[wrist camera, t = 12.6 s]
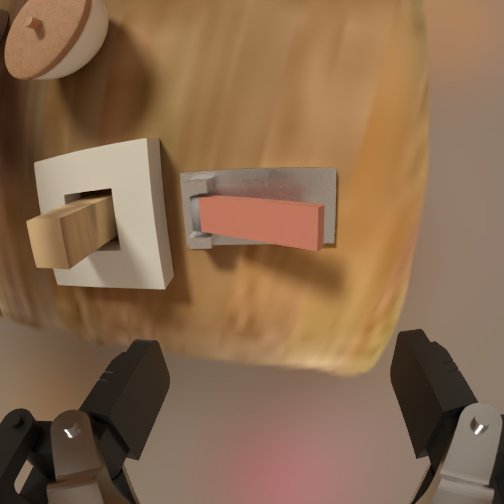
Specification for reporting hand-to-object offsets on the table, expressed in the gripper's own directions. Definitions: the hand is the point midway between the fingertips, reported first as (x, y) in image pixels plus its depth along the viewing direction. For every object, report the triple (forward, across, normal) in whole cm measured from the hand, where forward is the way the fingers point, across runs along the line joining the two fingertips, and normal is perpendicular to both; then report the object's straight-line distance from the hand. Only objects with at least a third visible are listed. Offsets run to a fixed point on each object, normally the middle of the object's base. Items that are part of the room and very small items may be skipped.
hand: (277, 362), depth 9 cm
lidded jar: (+19, +19, -22) cm, 35 cm away
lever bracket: (+19, +2, -1) cm, 20 cm away
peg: (+19, +18, -2) cm, 26 cm away
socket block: (+19, +18, -2) cm, 26 cm away
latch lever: (+16, +2, -1) cm, 16 cm away
